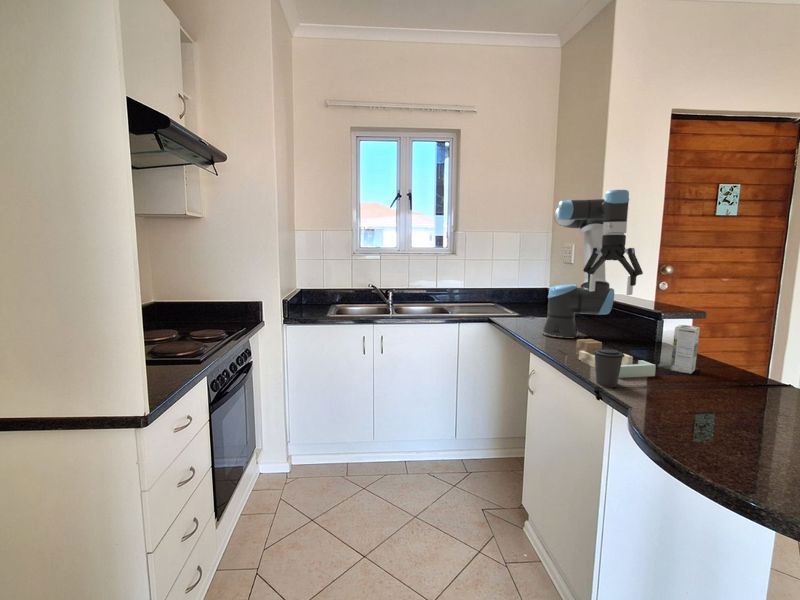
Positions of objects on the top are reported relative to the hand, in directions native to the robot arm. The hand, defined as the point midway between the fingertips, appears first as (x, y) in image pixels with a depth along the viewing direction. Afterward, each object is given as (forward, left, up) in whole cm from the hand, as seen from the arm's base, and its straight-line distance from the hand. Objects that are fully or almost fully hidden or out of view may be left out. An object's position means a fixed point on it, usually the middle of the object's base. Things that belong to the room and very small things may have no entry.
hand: (610, 292), depth 146 cm
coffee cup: (+30, -22, -23) cm, 44 cm away
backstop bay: (+23, -9, -23) cm, 34 cm away
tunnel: (+11, -9, -23) cm, 27 cm away
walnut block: (+2, -9, -23) cm, 25 cm away
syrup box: (+22, +11, -23) cm, 34 cm away
